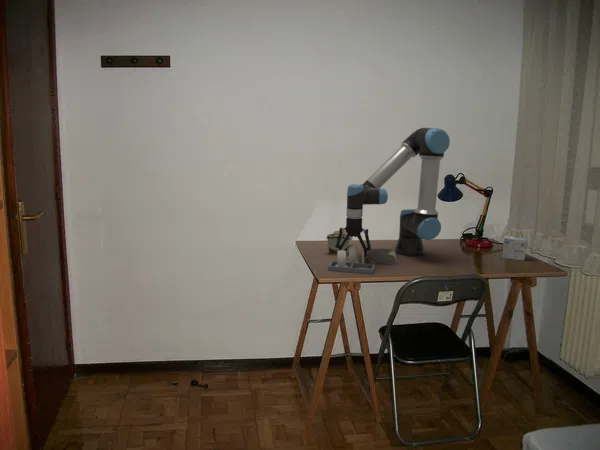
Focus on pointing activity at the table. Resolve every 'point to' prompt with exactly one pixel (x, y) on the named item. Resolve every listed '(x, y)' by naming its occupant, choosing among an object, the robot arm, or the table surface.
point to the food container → (333, 240)
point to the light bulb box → (514, 248)
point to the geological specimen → (382, 256)
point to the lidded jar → (346, 234)
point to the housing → (349, 265)
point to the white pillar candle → (353, 254)
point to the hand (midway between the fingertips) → (352, 262)
